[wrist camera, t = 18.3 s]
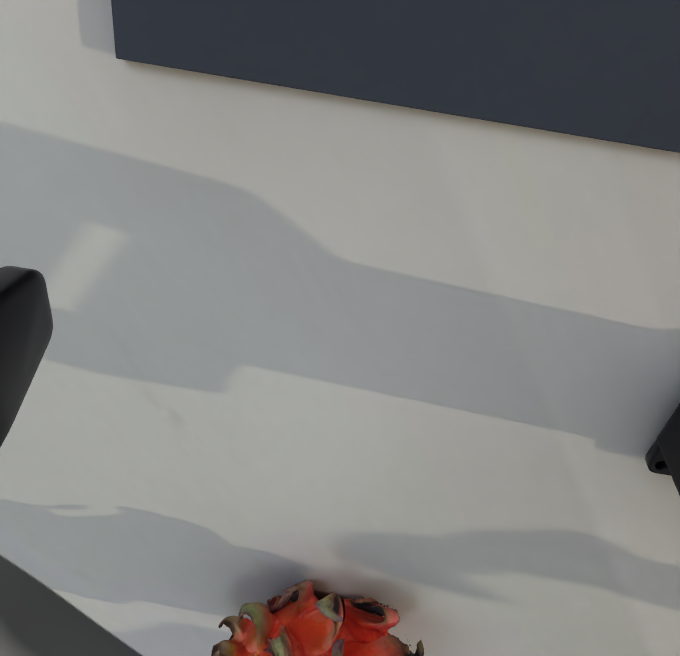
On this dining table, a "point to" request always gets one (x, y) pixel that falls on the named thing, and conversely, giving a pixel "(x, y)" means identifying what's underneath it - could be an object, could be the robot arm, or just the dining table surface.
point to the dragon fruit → (313, 627)
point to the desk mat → (439, 56)
